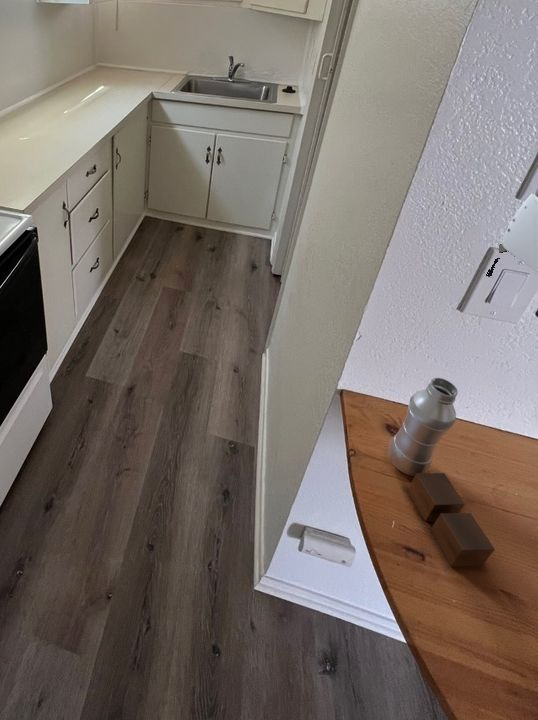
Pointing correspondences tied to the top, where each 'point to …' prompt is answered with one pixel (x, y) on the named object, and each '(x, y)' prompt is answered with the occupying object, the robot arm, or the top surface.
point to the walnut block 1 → (434, 495)
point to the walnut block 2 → (461, 539)
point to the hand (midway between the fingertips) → (518, 295)
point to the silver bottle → (423, 427)
